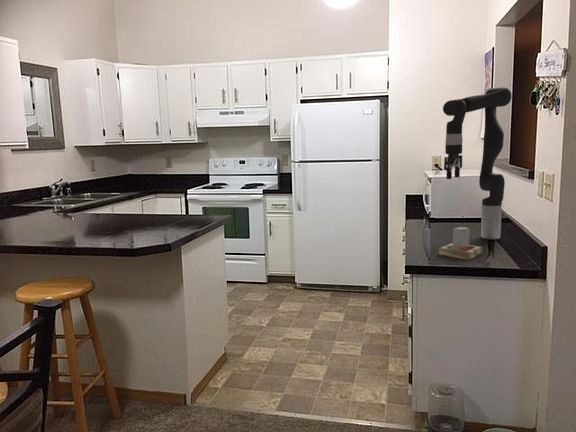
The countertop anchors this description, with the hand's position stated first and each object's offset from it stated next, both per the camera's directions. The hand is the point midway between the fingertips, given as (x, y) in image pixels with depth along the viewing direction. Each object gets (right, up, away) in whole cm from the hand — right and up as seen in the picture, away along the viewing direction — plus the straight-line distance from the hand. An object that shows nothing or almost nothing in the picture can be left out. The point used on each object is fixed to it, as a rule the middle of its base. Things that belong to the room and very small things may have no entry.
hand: (453, 178), depth 232 cm
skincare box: (0, -36, -10) cm, 37 cm away
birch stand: (0, -35, -10) cm, 37 cm away
